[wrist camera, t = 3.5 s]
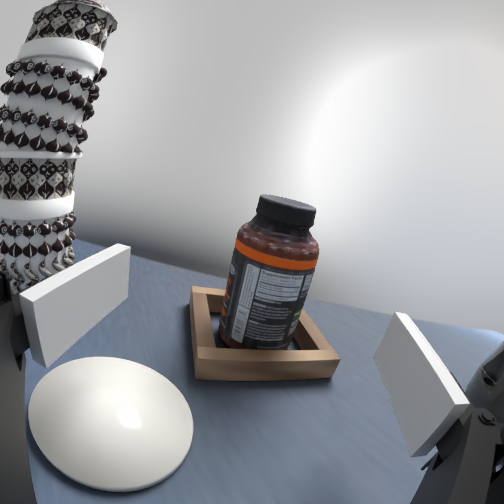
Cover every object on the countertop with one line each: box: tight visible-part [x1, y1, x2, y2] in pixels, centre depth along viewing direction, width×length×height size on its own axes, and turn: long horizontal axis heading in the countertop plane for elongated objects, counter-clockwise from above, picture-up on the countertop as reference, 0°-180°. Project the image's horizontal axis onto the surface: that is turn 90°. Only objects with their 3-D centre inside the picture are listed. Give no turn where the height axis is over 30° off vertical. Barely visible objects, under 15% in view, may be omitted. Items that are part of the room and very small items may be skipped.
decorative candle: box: [0, 0, 117, 295], centre depth 16 cm, size 9×9×25 cm
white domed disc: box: [28, 357, 193, 492], centre depth 11 cm, size 9×9×1 cm
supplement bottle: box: [219, 195, 319, 350], centre depth 21 cm, size 6×6×11 cm
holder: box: [189, 286, 340, 381], centre depth 22 cm, size 10×10×2 cm
